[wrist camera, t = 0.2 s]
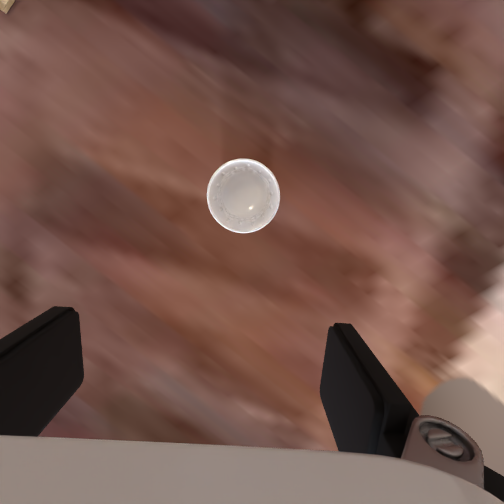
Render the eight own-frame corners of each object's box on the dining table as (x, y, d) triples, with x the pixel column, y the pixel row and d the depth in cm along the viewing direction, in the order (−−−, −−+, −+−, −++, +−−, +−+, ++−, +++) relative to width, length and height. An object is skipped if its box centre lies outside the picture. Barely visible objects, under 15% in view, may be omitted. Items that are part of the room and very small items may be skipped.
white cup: (246, 153, 38) (245, 141, 28) (283, 195, 39) (295, 198, 30) (205, 193, 39) (191, 195, 29) (243, 232, 40) (242, 247, 31)
